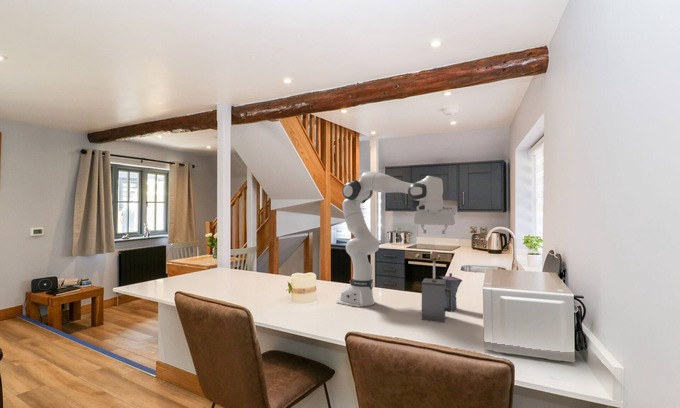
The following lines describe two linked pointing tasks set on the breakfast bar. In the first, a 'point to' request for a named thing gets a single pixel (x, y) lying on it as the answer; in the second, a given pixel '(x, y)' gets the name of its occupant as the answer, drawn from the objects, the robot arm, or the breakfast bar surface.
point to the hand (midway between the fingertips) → (434, 233)
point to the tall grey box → (435, 300)
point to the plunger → (433, 257)
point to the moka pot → (451, 284)
